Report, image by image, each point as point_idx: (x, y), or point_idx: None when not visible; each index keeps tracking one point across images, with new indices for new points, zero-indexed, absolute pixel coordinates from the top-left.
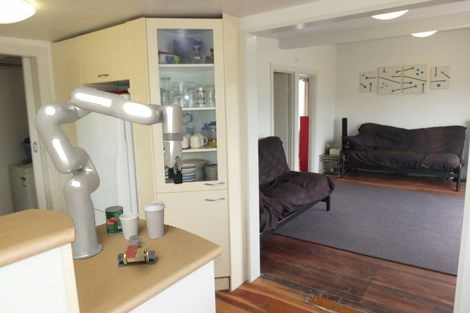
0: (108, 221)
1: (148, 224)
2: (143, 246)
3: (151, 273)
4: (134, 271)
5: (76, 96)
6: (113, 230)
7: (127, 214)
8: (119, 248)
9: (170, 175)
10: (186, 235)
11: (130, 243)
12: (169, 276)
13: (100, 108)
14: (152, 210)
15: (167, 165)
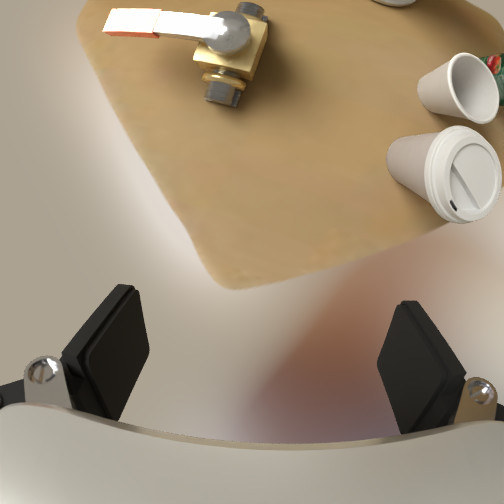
0: (497, 54)
1: (420, 135)
2: (206, 60)
3: (157, 85)
4: (191, 46)
5: None
6: None
7: (494, 94)
8: (368, 38)
9: (405, 340)
10: (357, 244)
11: (176, 13)
12: (123, 126)
13: None
14: (431, 150)
15: (255, 466)
